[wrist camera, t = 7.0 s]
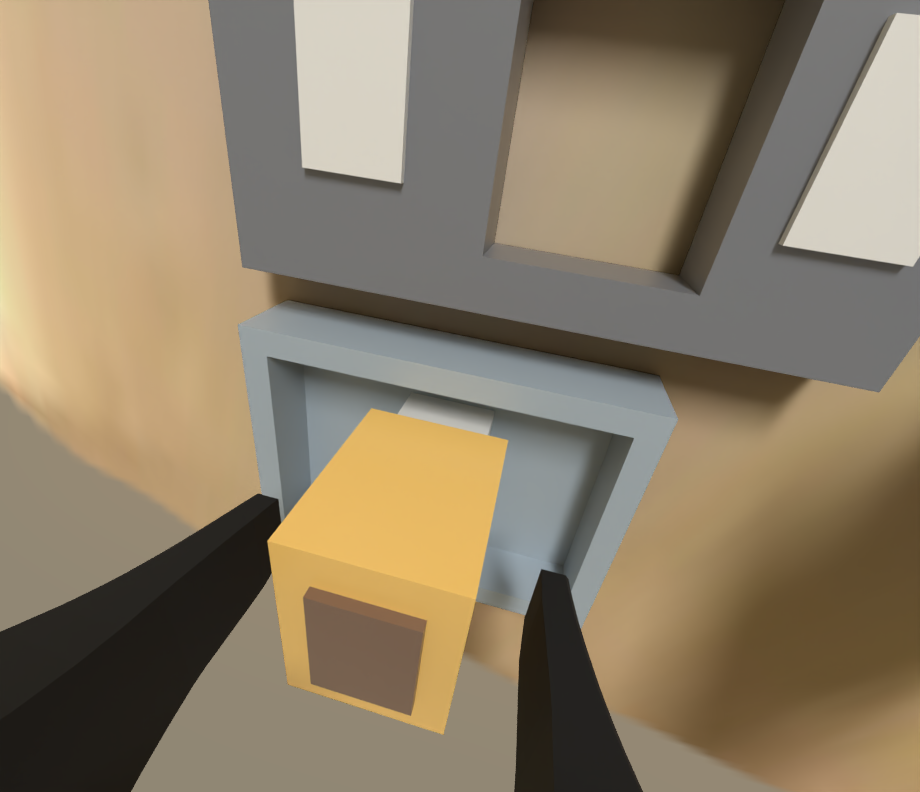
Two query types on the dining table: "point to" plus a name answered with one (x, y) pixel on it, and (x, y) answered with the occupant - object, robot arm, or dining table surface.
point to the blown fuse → (390, 560)
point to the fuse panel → (564, 277)
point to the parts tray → (515, 419)
